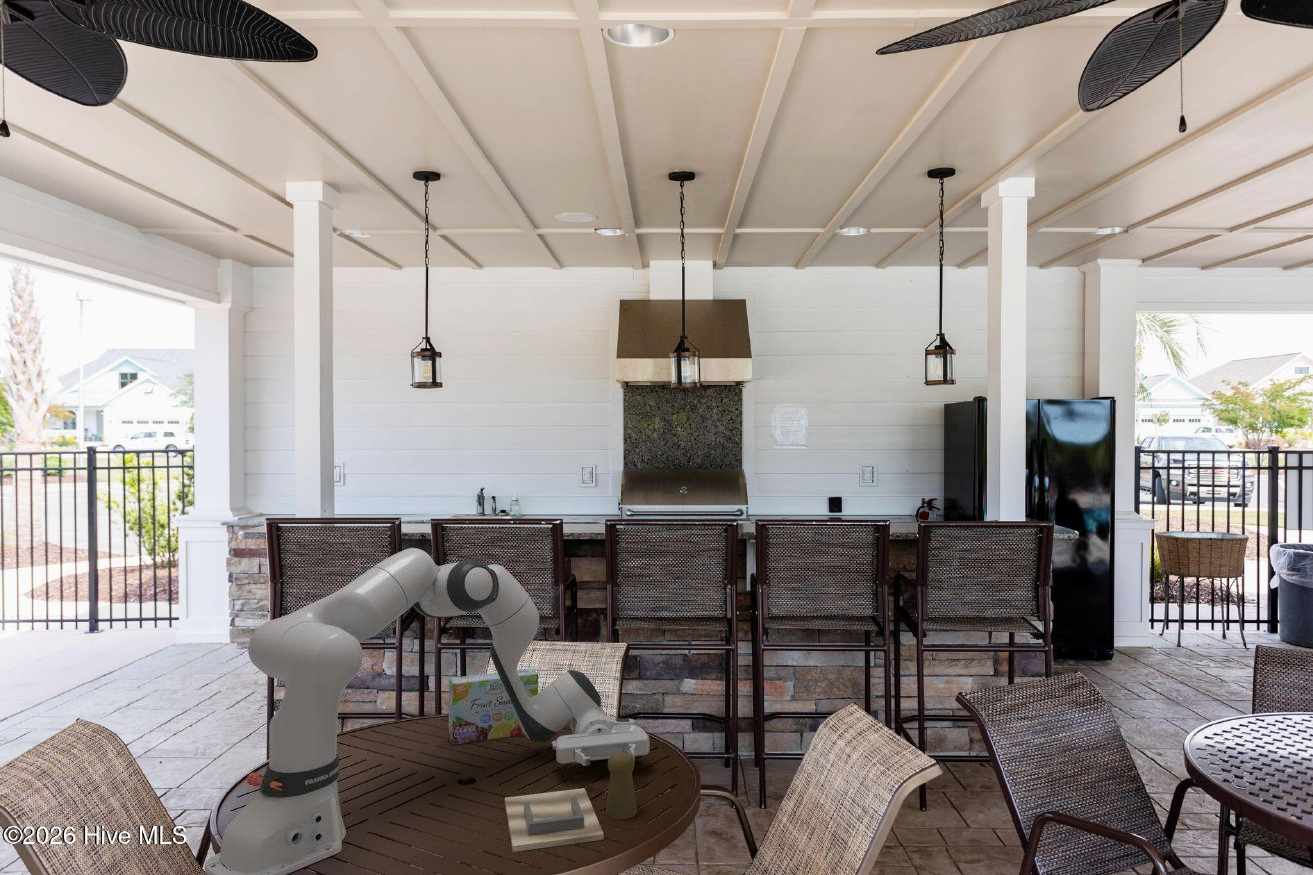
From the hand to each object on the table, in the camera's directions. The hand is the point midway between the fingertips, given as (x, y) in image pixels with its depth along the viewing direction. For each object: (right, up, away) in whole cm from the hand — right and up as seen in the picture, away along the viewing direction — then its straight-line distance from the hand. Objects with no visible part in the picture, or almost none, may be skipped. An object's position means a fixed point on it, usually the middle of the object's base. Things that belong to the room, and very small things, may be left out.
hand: (609, 759), depth 159 cm
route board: (-10, -5, -14) cm, 18 cm away
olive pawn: (+3, -6, -11) cm, 13 cm away
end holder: (-9, -4, -16) cm, 19 cm away
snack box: (-30, -7, +31) cm, 44 cm away
